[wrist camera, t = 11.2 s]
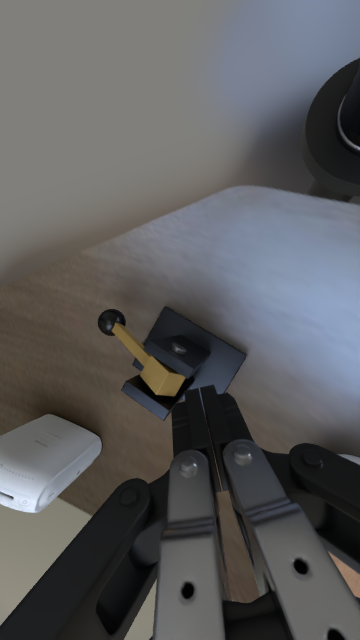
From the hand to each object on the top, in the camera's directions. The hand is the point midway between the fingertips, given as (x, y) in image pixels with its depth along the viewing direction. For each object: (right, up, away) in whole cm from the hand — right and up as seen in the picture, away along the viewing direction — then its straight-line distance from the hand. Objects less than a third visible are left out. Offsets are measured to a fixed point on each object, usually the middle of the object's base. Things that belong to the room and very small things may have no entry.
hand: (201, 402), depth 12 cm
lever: (-5, +1, +15) cm, 16 cm away
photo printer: (-17, -13, +24) cm, 32 cm away
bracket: (0, -1, +20) cm, 20 cm away
